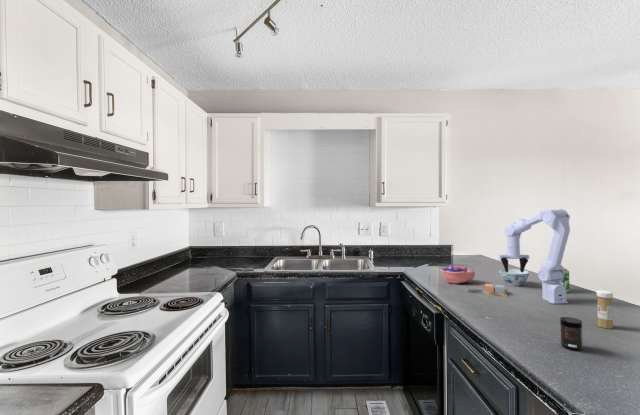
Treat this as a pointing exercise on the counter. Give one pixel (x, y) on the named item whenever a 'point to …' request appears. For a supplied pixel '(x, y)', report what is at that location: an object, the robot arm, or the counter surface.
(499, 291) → the grey-blue block
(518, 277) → the chinaware
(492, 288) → the terracotta block
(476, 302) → the counter surface
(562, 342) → the supplement container
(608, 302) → the sprinkles bottle
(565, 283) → the soda can
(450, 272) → the cell model
